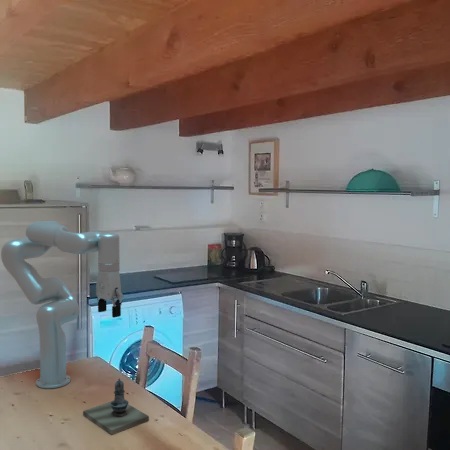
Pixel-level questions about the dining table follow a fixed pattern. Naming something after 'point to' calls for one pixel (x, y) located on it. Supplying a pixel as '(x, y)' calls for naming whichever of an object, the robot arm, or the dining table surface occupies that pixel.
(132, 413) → the serving board
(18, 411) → the dining table surface
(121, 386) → the dark grey chess piece
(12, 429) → the dining table surface
